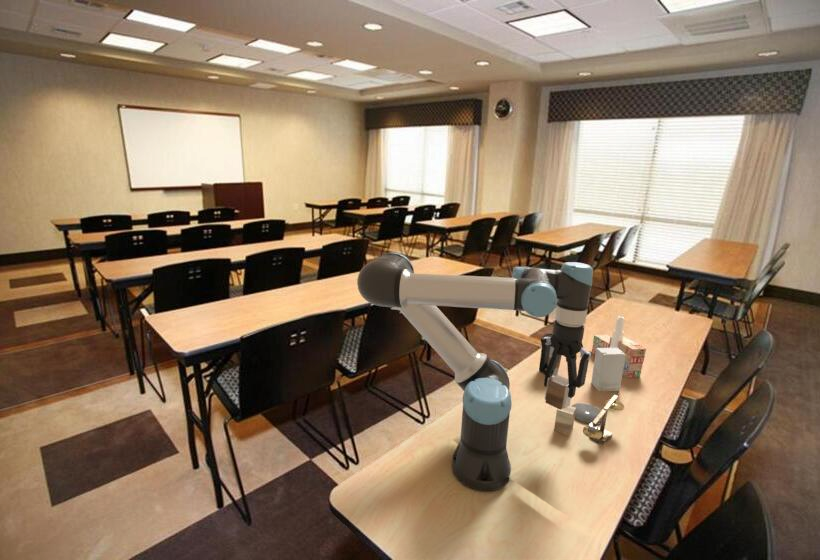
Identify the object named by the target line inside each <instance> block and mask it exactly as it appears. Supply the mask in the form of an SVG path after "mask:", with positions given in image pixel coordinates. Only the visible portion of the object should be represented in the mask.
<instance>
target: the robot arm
mask: <svg viewBox="0 0 820 560" xmlns="http://www.w3.org/2000/svg"><path fill="white" fill-rule="evenodd" d="M593 275H594V269H593V267H592V266H591V265H590V264H586V263H583V262H576V261H574V262H573V261H571V262H570V261H568V262H567V261H566V262H563V263H562V265H561V268H560V269H552V268H551V269H550V268H540V267H533V266H532V267H529V266H515V267H514V268H513V270H512V276H511V277H501V276H500V277H499V276H479V275H478V276H477V275H462V274H461V275H458V274H438V273H437V274H434V273H416V272H415V270H414V267H413V264H412V262H411V260H410V259H409V258H408V257H407V256H405V255H403V254H402V253H399V252H387V253H383V254H381V255H379V256H377V257H376V258H375V259H372V261H370V262H368V263H366V264H365V265H364V266H363V267H361V269H360V271H359V273H358V275H357V283H356V285H357V289H358V292H359V294H360V297H362V298H363V299H364V300H365V301H366V302H368V303H369V304H371V305H374V306H378V307H383V308H384V307H386V308H389V309H391V310H397V311H399V312H401V314H402V315H403V316H404V317H405V318H406V319H407V321H408V322H409V323H410V324H411V325H412V326H413V327H414V329H416V331H417V332H418V333H419V334H420V335H421V336H422V338H423V339H424V340H425V341H426V342H427V343H428V344H429V346H431V348H433V350H434V351H435V352H436V353H437V354H438V355H439V357H440V358H441V359H442V360H443V361H444V363H446V364H447V366H448V367H449V368H450V369H451V370H452V371H453V372H454V382H455V383H456V384H457V385H458V386H459V387H460V388H461V390H462V391H463V394H462V411H461V412H462V413H461V415H462V416H461V425H460V426H461V428H460V440H459V441H458V443H457V445H456V447H455V450H454V452H453V455H452V460H451V469H452V473H453V475H454V476H455V478H456V479H457V480H458V481H459V482H460V483H462V484H463V485H465V486H467V487H469V488H471V489H474V490H478V491H487V492H488V491H496V490H499V489H501V488H503V487H504V486H506V485H507V484H508V483H509V481H510V477H511V471H512V466H511V465H512V464H511V462H510V459H509V454H508V449H507V444H508V443H507V442H508V434H509V423H510V417H511V416H510V413H511V410H512V396H511V392H510V386H511V385H510V384H511V383H510V377H509V375H508V371H507V370H506V369H505V368H504V366H503V365H502V364H501V363H500V362H498V361H496V360H494V359H491V358H490V357H489V356H488V355H487V354H486V353H483V352H477V350H476V349H475V348H474V347H473V345H471V344H470V342H469V341H468V340H467V339H466V338H465V337H464V336H463V334H461V332H460V331H459V330H458V328H456V327H455V325H454V324H453V323H452V322H451V321H450V320H449V319H448V317H447V316H445V314H444V313H443V312H442V311H441V310H440V309H439V308H438V307H439V306H440V307H454V308H471V309H484V310H485V309H487V310H490V309H491V310H503V311H517V312H518V311H520V312H526V313H527V314H529V315H530V316H531V317H535V318H544V317H547V316H549V315H550V314H552V313H553V311H554V310H555V314H554V319H555V320H554V321H553V327H552V334H553V335H552V336H551V337H548V336H546V337H544V338H543V337H542V338H541V339H540V343H541V349H542V350H540V357H539V359H540V361H539V368H538V369H539V372H540V373H542V374H543V373H544V374H543V375H544V383H543V386H544V387H545V388H546V389H545V394H544V400H545V401H546V394H547V388H548V381H549V379H551V378H552V377H554V375H552V374H554V370H555V368H556V365H557V363H558V361H559V358H560V356H561V355H562V357H564V358H565V361H566V363H567V364H566V365H567V377H568V378H567V379H568V381H569V384H568V385H566V388H565V394H564V400H563V406H562V408H564V409H565V408H567V407H568V406H571V405H570V404H571V399H572V398H574V396H575V395H576V390H577V389H579V388H582V387H583V386H584V385H585V384H586V379H587V372H588V368H589V367H588V366H589V361H590V360H591V358H592V356H594V355H593V353H592V350H590V351H588V350H587V349H585V348H584V344H583V339H584V334H585V333H584V332H585V328H586V327H585V324H586V321H587V314H588V309H589V308H588V307H589V301H590V297H591V289H592V286H593ZM551 343H552V345H553V347H554V351H553V353H552V357H551V360H550V362H549V365H548V361H549V353H550V344H551ZM579 353H580V356H579V357H580V361H579V366H578V369H577V357H578V356H577V355H578V354H579Z"/></svg>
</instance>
